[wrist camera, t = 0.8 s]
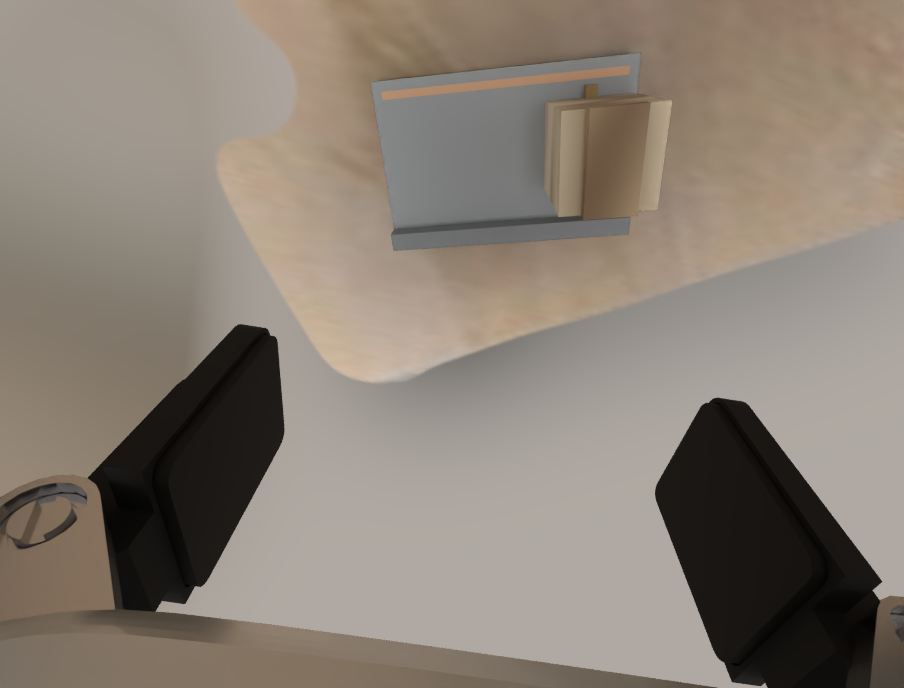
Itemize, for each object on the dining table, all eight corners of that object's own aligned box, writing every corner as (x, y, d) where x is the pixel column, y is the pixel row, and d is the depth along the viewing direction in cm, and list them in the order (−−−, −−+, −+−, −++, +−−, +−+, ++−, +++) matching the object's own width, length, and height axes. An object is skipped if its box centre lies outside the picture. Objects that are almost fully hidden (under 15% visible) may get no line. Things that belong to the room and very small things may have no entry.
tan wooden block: (633, 79, 23) (680, 83, 18) (623, 182, 26) (661, 214, 21) (545, 88, 24) (564, 95, 18) (544, 188, 27) (560, 221, 21)
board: (630, 53, 25) (648, 52, 22) (615, 218, 29) (628, 234, 26) (378, 81, 26) (365, 82, 23) (401, 234, 31) (393, 250, 28)
